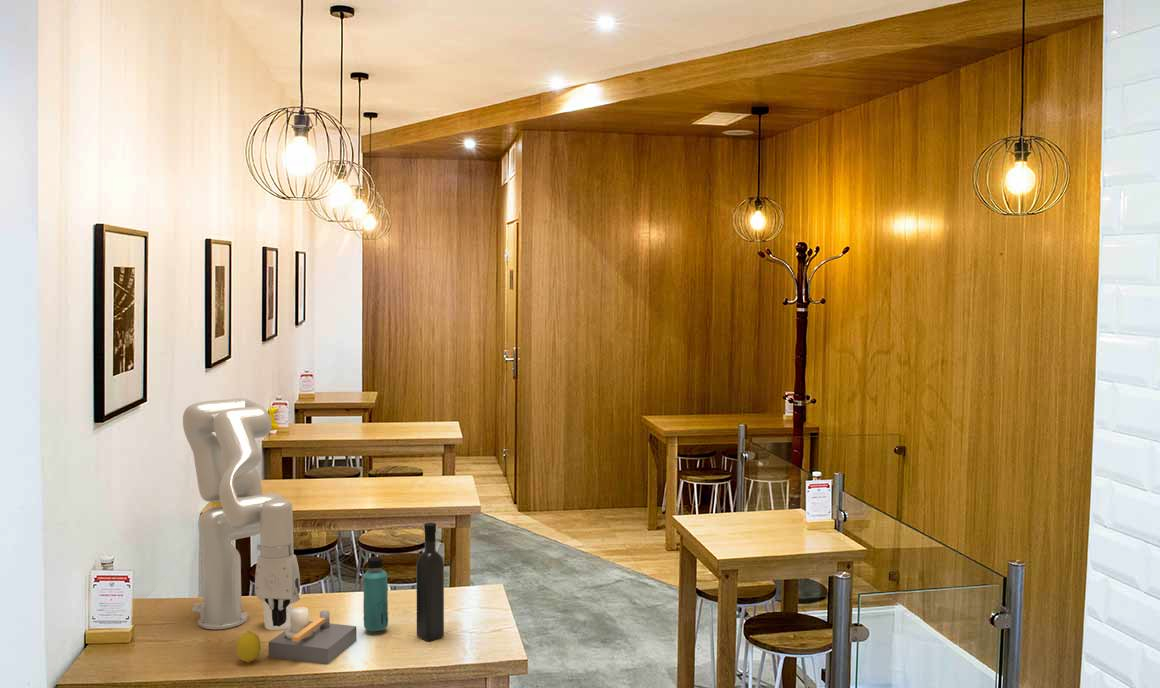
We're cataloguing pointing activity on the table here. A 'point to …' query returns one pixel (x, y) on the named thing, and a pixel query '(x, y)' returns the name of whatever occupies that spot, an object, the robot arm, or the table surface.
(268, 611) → the white cup
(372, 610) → the beverage bottle
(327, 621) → the hammer
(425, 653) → the table surface
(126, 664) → the table surface
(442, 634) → the wine bottle
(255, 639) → the lemon
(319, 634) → the dock
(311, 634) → the plug
